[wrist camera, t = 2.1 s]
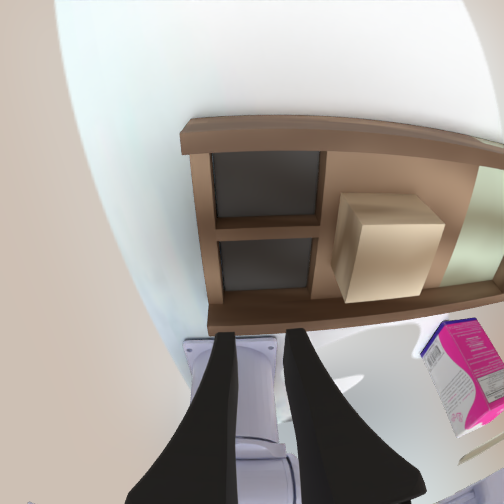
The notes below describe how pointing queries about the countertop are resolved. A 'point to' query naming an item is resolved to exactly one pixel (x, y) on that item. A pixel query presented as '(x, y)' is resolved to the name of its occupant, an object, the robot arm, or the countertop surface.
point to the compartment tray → (335, 216)
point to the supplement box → (466, 374)
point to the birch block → (383, 245)
